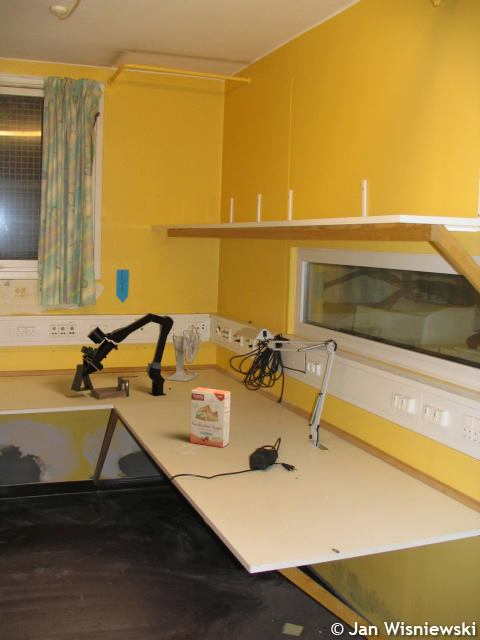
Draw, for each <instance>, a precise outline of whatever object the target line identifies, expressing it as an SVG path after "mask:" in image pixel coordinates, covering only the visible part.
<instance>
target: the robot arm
mask: <svg viewBox="0 0 480 640" xmlns="http://www.w3.org/2000/svg"><path fill="white" fill-rule="evenodd" d="M149 323H153V324H156V325H157V324H158V325H159V335H158V337H157V342H156V347H155V350H154V355H153V358H152V361H151V362H148V363H147V368H146V369H145V370H146V374H147V376H148V378H149V379H150V380H151V392H148V394H150V395H152V396H154V397H157V396H159V397H160V396H166V395H167V393H165V392H164V384H165V382H166V381H165V380H166V379H165V378H164V377H163V376H162V359H163V356H164V351H165V348H166V343H167V339H168V336H169V334H170V333H171V330H172V328H173V326H174V319H173V318H172V317H171V316H170V315H163V316H162V315H158V314H154V313H152V312H148V313H146V314H145V315H143V316H142V317H140V318H138V319H136V320H135V321H133V322H131V323H130V324H128V325H126V326H123V327H119V328H117V329H114V330H112V331H111V332H107V333H105V332H103V330H102V329H100V327H99V326H96V327H95V328H94V329H93V330H91V331H90V332H89V333H88V334H87V338H88V339H89V340H90V341H91V342H93V344H95V345H98V347H95V348H94V347H92V346H86V345H82V347H81V350H80V353H82V354H83V355H81V357H82V358H81V359H82V363H81V364H82V365H85V366H87V368H86V370H85V371H84V372H83V374H82V377H85V376H87V375H89V376H90V375H91V374H94V373H96V372H99V371H100V372H102V371H103V369H104V365H103V364H102V361H104V359H107V358H108V357H107V356H108V355H109V354H110V353H111V351H113V350H115V351H118V344H120V343H122V342H123V341H124V340H125V339H127V338H128V337H129V335H131V334H132V333H134V332H136V331H137V330H139V329H141V328H142V327H145V326H146V325H147V324H149Z"/></svg>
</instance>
